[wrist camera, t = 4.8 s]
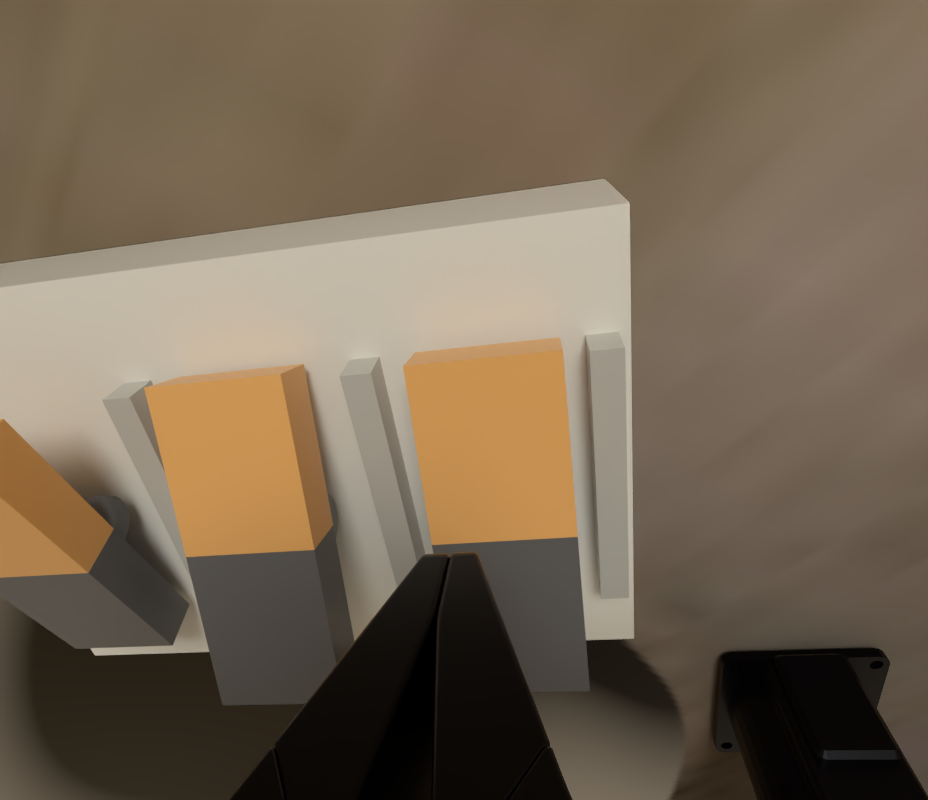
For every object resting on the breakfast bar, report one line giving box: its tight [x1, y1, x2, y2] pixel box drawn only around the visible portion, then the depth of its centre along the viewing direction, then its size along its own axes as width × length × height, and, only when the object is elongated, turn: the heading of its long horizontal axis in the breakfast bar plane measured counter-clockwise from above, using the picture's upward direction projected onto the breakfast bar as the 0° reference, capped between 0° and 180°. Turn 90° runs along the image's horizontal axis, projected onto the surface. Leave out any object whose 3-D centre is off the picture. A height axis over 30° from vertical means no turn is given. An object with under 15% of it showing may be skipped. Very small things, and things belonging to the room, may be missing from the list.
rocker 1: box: [0, 419, 190, 649], centre depth 16 cm, size 9×4×2 cm, turn 8°
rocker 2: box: [144, 364, 354, 705], centre depth 16 cm, size 9×4×2 cm, turn 8°
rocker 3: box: [403, 337, 590, 692], centre depth 15 cm, size 9×4×2 cm, turn 8°
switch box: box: [0, 179, 634, 655], centre depth 18 cm, size 14×20×5 cm
